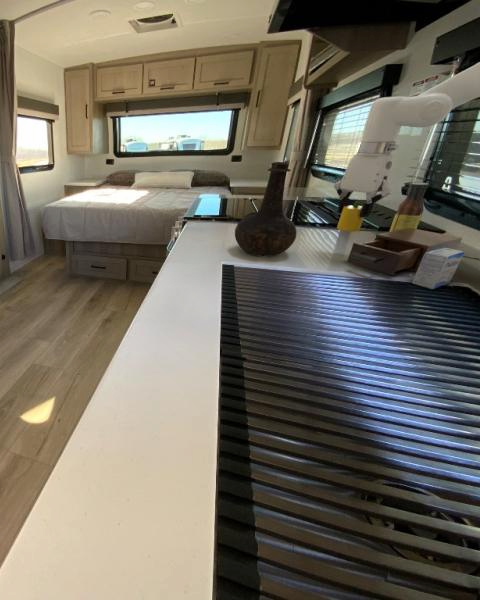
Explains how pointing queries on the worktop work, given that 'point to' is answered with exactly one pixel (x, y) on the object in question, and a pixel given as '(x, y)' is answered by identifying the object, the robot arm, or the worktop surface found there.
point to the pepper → (350, 218)
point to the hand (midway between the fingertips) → (352, 214)
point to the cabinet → (421, 241)
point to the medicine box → (437, 267)
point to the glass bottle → (268, 220)
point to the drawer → (384, 255)
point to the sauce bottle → (410, 208)
